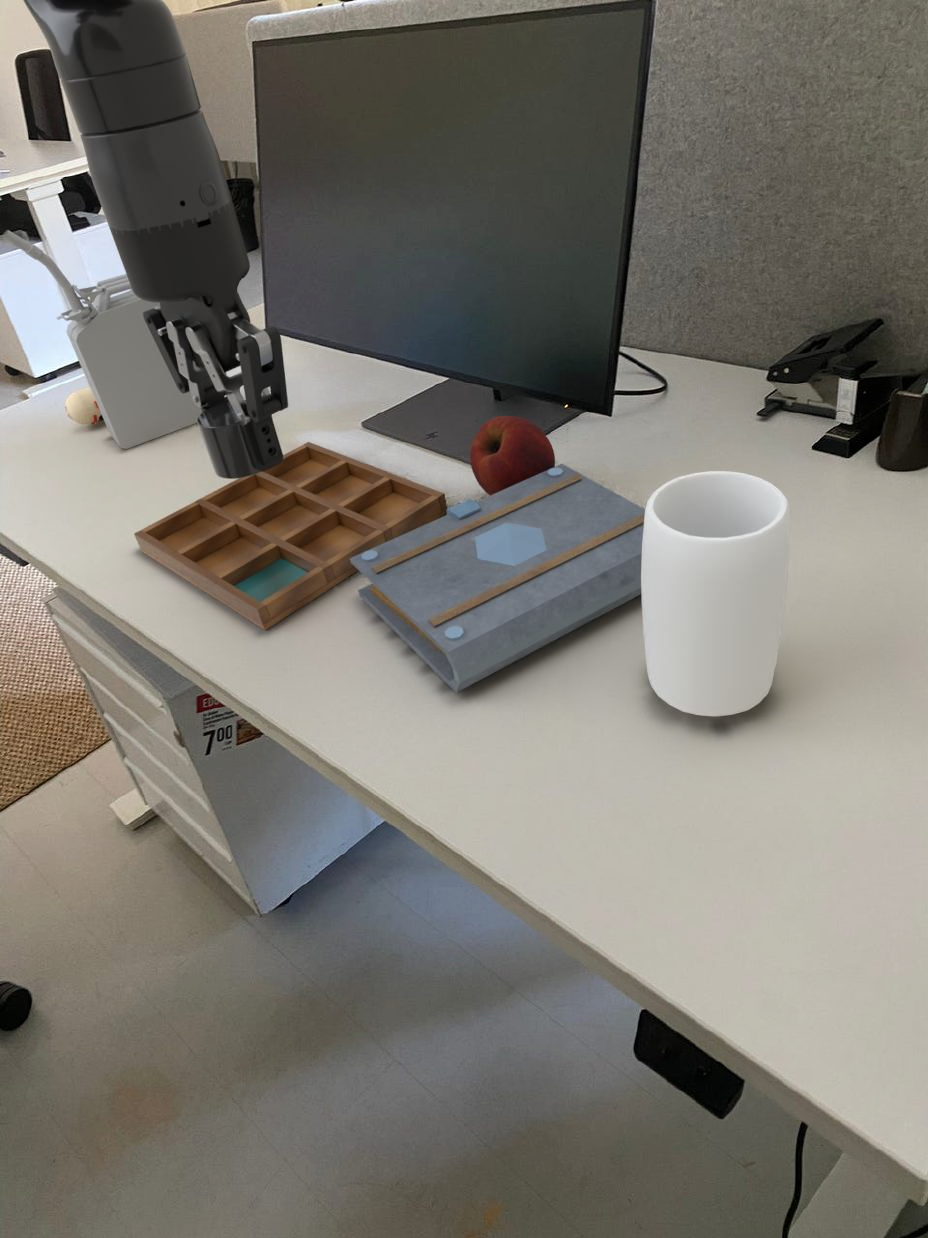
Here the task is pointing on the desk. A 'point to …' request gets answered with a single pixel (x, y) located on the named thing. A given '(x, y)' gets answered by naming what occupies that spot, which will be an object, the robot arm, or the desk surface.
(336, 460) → the board
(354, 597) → the desk surface
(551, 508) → the book
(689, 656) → the cup
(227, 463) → the dark grey cylinder
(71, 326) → the fuel canister
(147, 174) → the robot arm
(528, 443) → the apple
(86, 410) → the toy figurine
